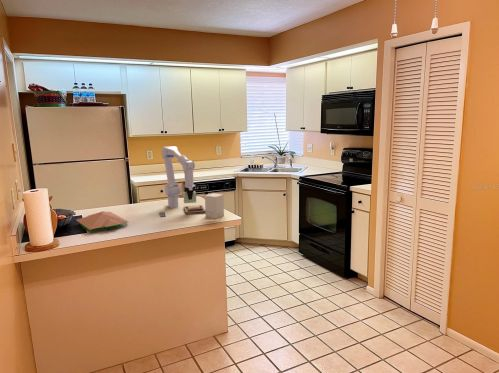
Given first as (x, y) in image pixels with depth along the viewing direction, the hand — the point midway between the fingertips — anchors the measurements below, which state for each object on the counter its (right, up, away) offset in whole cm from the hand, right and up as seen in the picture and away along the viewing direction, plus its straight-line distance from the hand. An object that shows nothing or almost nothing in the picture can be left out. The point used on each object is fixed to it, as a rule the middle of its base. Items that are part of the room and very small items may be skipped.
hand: (189, 198), depth 249 cm
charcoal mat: (-13, -11, +1) cm, 17 cm away
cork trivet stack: (+1, -8, +9) cm, 12 cm away
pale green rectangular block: (0, -2, 0) cm, 2 cm away
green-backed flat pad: (-50, -16, -22) cm, 57 cm away
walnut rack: (+2, -9, +6) cm, 11 cm away
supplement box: (+18, -12, -7) cm, 22 cm away
